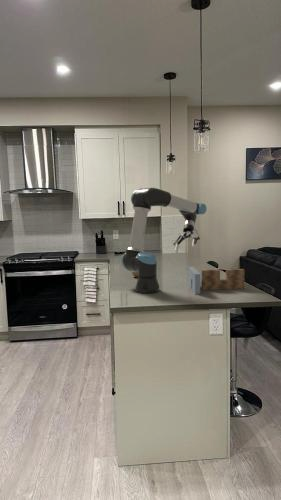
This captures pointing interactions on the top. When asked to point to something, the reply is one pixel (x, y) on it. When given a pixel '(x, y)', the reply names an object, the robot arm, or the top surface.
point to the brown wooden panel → (231, 282)
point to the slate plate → (194, 280)
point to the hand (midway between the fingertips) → (184, 249)
